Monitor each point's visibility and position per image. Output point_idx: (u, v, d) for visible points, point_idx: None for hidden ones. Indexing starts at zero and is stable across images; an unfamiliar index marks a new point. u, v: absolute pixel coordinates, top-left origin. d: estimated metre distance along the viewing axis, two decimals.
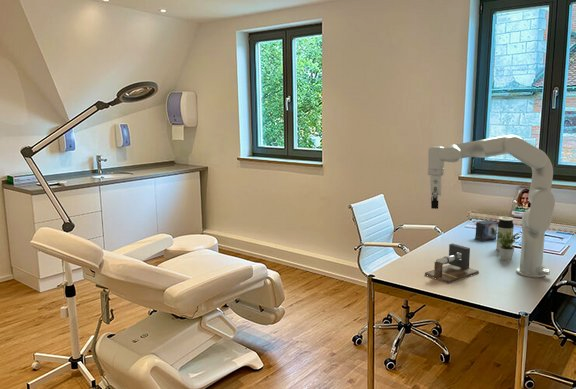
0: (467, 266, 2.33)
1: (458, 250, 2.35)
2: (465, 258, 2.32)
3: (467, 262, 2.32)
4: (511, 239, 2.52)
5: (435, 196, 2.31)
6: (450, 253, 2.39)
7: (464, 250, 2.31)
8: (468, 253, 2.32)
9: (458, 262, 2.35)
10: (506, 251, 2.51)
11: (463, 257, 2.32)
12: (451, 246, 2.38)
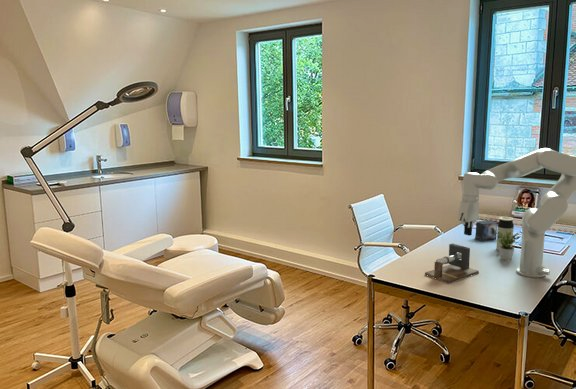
0: (467, 266, 2.33)
1: (458, 250, 2.35)
2: (465, 258, 2.32)
3: (467, 262, 2.32)
4: (511, 239, 2.52)
5: None
6: (450, 253, 2.39)
7: (464, 250, 2.31)
8: (468, 253, 2.32)
9: (458, 262, 2.35)
10: (506, 251, 2.51)
11: (463, 257, 2.32)
12: (451, 246, 2.38)
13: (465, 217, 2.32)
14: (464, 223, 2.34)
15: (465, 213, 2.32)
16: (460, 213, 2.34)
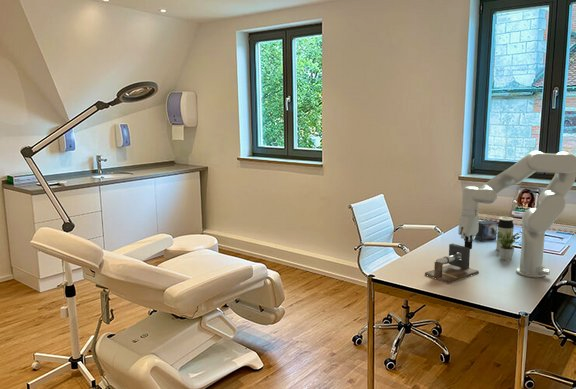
0: (467, 266, 2.33)
1: (458, 250, 2.35)
2: (465, 258, 2.32)
3: (467, 262, 2.32)
4: (511, 239, 2.52)
5: None
6: (450, 253, 2.39)
7: (464, 250, 2.31)
8: (468, 253, 2.32)
9: (458, 262, 2.35)
10: (506, 251, 2.51)
11: (463, 257, 2.32)
12: (451, 246, 2.38)
13: (465, 231, 2.34)
14: (464, 237, 2.35)
15: (465, 227, 2.33)
16: (460, 227, 2.36)
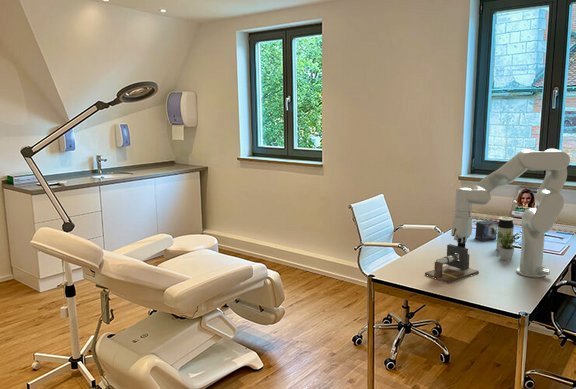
0: (465, 267, 2.32)
1: (456, 251, 2.34)
2: (463, 258, 2.31)
3: (465, 263, 2.31)
4: (511, 239, 2.52)
5: None
6: (448, 254, 2.38)
7: (462, 251, 2.31)
8: (466, 254, 2.31)
9: (456, 263, 2.35)
10: (506, 251, 2.51)
11: (461, 258, 2.32)
12: (449, 247, 2.37)
13: (458, 233, 2.31)
14: (457, 239, 2.33)
15: (457, 228, 2.31)
16: (453, 229, 2.33)
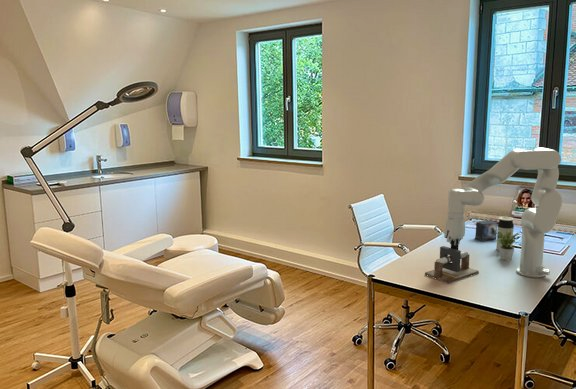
0: (458, 269, 2.29)
1: (449, 253, 2.31)
2: (456, 261, 2.28)
3: (458, 265, 2.29)
4: (511, 239, 2.52)
5: None
6: (441, 256, 2.35)
7: (455, 253, 2.28)
8: (459, 256, 2.28)
9: (449, 265, 2.32)
10: (506, 251, 2.51)
11: (454, 260, 2.29)
12: (442, 249, 2.34)
13: (451, 235, 2.28)
14: (450, 241, 2.30)
15: (450, 230, 2.28)
16: (446, 231, 2.30)
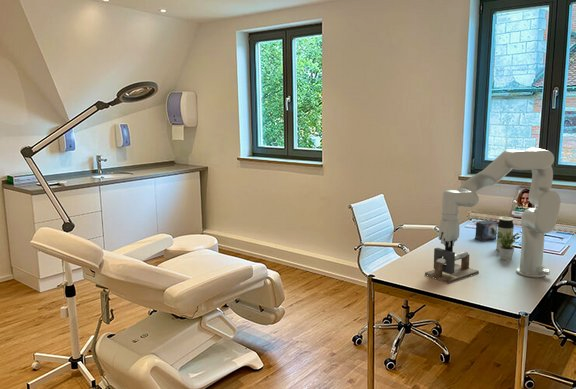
0: (452, 271, 2.27)
1: (443, 254, 2.28)
2: (450, 263, 2.26)
3: (452, 267, 2.26)
4: (511, 239, 2.52)
5: None
6: (435, 257, 2.33)
7: (449, 254, 2.25)
8: (453, 258, 2.26)
9: (443, 267, 2.29)
10: (506, 251, 2.51)
11: (448, 262, 2.26)
12: (436, 250, 2.32)
13: (445, 236, 2.26)
14: (444, 242, 2.28)
15: (444, 232, 2.25)
16: (440, 232, 2.28)
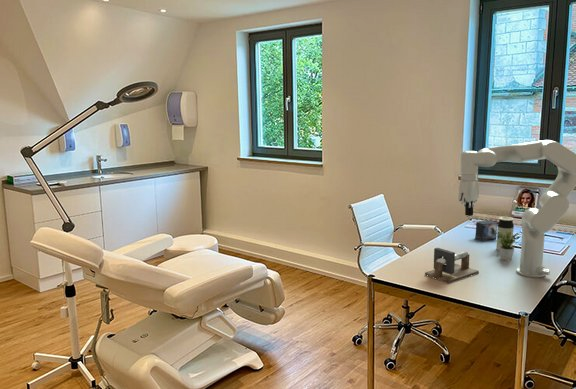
0: (452, 271, 2.27)
1: (443, 254, 2.28)
2: (450, 263, 2.26)
3: (452, 267, 2.26)
4: (511, 239, 2.52)
5: None
6: (435, 257, 2.33)
7: (449, 254, 2.25)
8: (453, 258, 2.26)
9: (443, 267, 2.29)
10: (506, 251, 2.51)
11: (448, 262, 2.26)
12: (436, 250, 2.32)
13: (465, 197, 2.27)
14: (465, 203, 2.29)
15: (465, 192, 2.27)
16: (460, 193, 2.29)
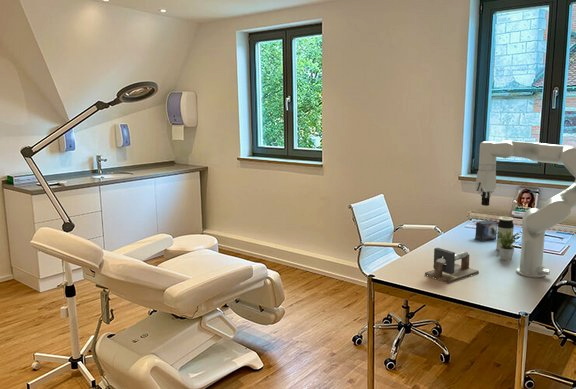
0: (452, 271, 2.27)
1: (443, 254, 2.28)
2: (450, 263, 2.26)
3: (452, 267, 2.26)
4: (511, 239, 2.52)
5: None
6: (435, 257, 2.33)
7: (449, 254, 2.25)
8: (453, 258, 2.26)
9: (443, 267, 2.29)
10: (506, 251, 2.51)
11: (448, 262, 2.26)
12: (436, 250, 2.32)
13: (482, 187, 2.30)
14: (481, 193, 2.31)
15: (482, 182, 2.29)
16: (477, 183, 2.32)
